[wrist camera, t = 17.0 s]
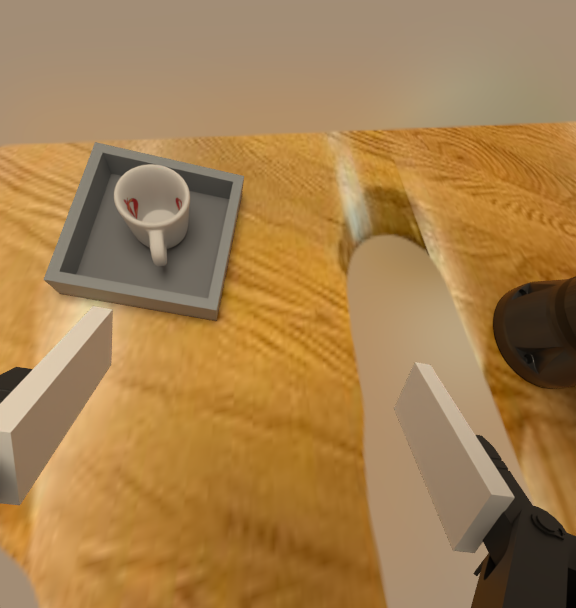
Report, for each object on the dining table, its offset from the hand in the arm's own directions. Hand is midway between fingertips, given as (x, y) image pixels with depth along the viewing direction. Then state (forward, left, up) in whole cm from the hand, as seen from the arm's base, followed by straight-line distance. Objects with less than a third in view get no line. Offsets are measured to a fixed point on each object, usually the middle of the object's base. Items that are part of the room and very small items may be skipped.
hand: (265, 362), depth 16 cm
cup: (+13, -19, -29) cm, 37 cm away
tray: (+13, -19, -30) cm, 37 cm away
